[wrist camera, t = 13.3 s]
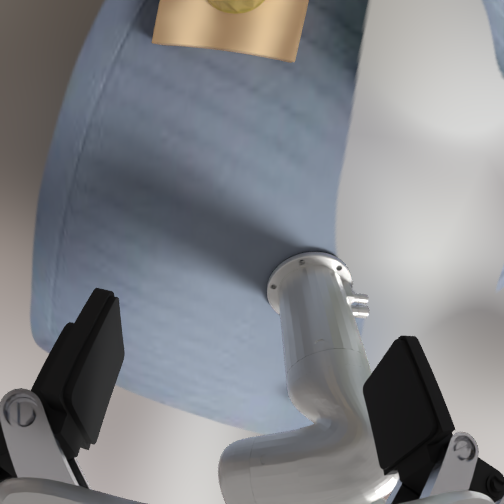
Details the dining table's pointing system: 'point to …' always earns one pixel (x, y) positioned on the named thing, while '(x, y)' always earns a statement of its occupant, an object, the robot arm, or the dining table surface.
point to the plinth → (233, 27)
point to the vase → (235, 5)
